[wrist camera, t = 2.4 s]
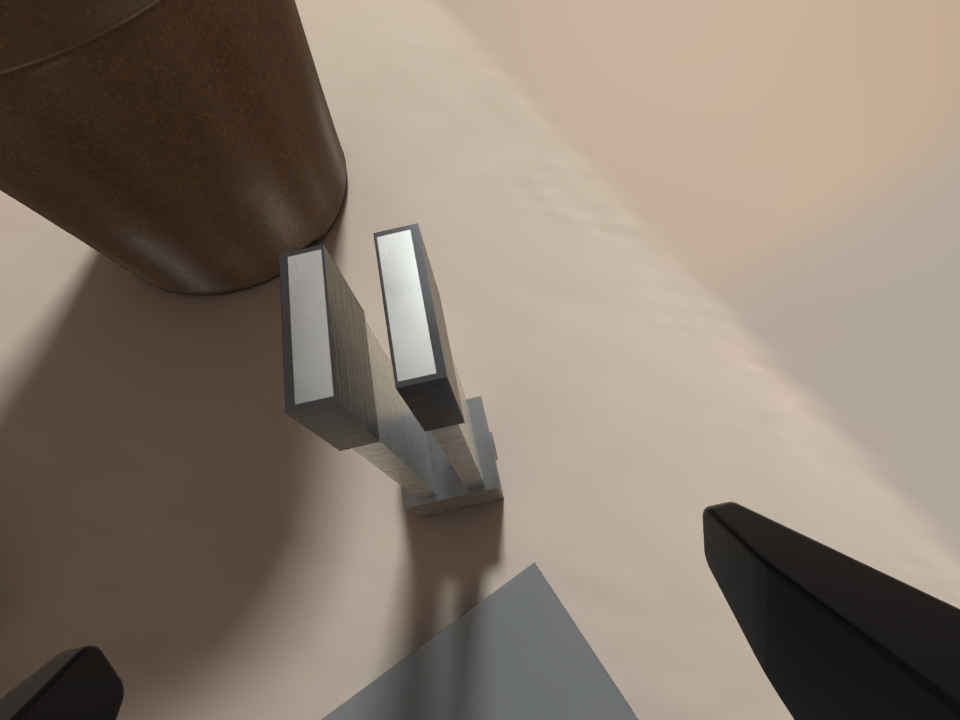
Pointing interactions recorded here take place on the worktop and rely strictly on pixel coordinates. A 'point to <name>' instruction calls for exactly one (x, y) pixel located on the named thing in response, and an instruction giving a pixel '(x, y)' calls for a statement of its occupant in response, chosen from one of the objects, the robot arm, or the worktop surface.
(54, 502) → the worktop surface
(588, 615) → the worktop surface
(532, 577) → the plate
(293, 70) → the plant pot
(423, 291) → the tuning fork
